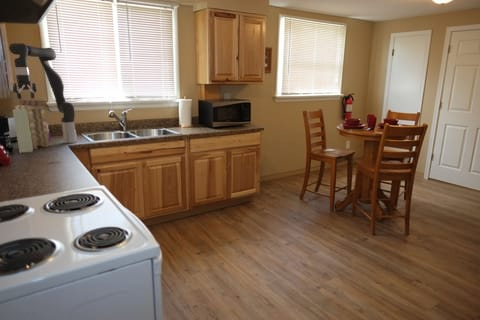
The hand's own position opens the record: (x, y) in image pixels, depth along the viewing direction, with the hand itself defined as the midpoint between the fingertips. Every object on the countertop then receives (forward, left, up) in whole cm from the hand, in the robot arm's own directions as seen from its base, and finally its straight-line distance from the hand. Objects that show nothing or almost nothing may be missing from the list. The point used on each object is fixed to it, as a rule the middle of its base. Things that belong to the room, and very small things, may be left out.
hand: (26, 98), depth 223 cm
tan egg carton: (-19, -17, -38) cm, 46 cm away
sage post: (-3, -10, -38) cm, 39 cm away
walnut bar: (-18, -11, -6) cm, 22 cm away
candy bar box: (-38, -27, -38) cm, 60 cm away
